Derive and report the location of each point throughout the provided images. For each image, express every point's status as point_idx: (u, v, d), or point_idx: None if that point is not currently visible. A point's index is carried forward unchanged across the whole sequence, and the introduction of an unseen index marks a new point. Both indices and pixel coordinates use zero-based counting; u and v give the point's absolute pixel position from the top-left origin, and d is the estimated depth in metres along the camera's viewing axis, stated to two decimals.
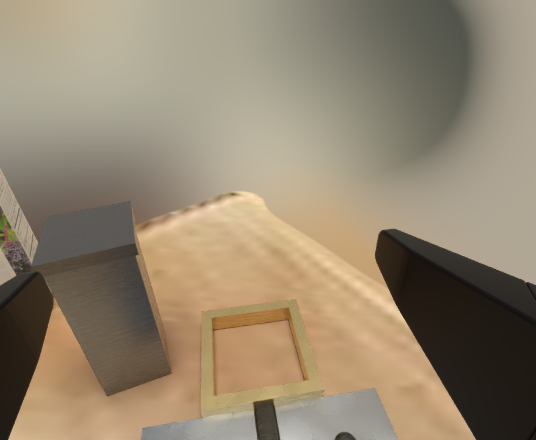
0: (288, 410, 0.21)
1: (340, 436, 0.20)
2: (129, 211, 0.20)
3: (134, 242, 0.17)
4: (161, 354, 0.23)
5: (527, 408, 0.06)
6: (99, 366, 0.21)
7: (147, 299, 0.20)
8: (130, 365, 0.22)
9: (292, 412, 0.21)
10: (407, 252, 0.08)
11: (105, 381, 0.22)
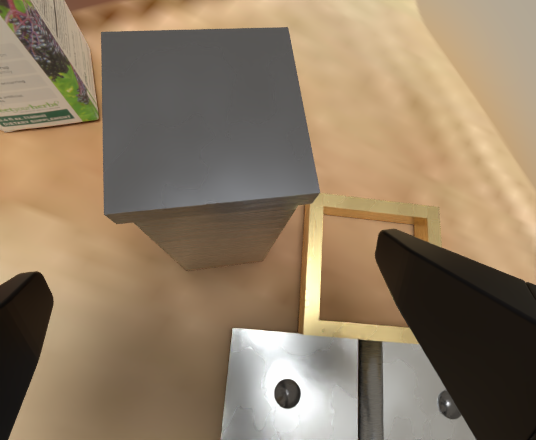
0: (396, 350, 0.18)
1: (447, 394, 0.18)
2: (290, 67, 0.09)
3: (317, 189, 0.08)
4: (262, 255, 0.17)
5: (527, 408, 0.06)
6: (186, 261, 0.16)
7: (280, 230, 0.12)
8: (223, 260, 0.17)
9: (400, 354, 0.18)
10: (407, 252, 0.08)
11: (189, 266, 0.17)
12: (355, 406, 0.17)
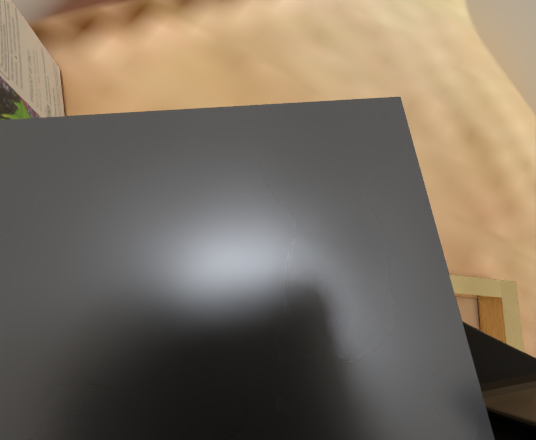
0: None
1: None
2: (415, 196, 0.04)
3: None
4: None
5: None
6: None
7: None
8: None
9: None
10: None
11: None
12: None
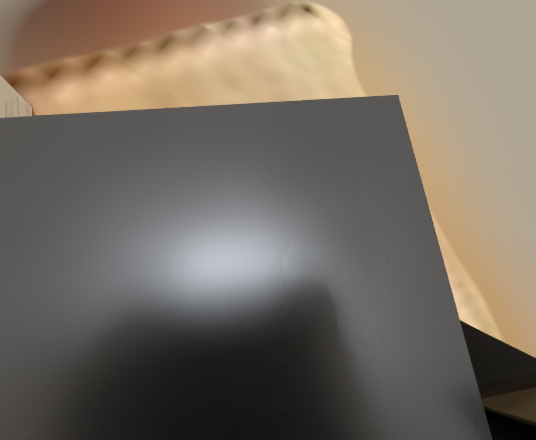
0: None
1: None
2: (412, 194, 0.04)
3: None
4: None
5: None
6: None
7: None
8: None
9: None
10: None
11: None
12: None
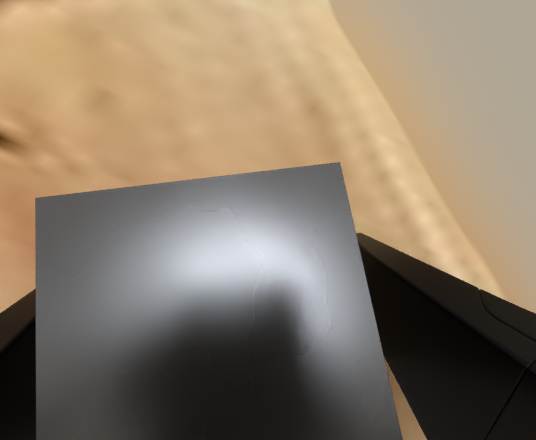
0: None
1: None
2: (348, 237, 0.05)
3: None
4: None
5: (477, 419, 0.06)
6: None
7: None
8: None
9: None
10: (368, 257, 0.08)
11: None
12: None
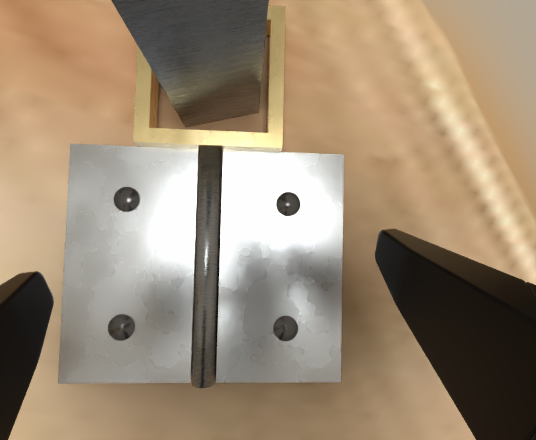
0: (237, 158, 0.19)
1: (285, 195, 0.19)
2: None
3: None
4: (255, 95, 0.17)
5: (527, 408, 0.06)
6: (181, 103, 0.16)
7: (264, 30, 0.12)
8: (217, 103, 0.17)
9: (241, 161, 0.19)
10: (407, 252, 0.08)
11: (185, 116, 0.17)
12: (194, 208, 0.18)
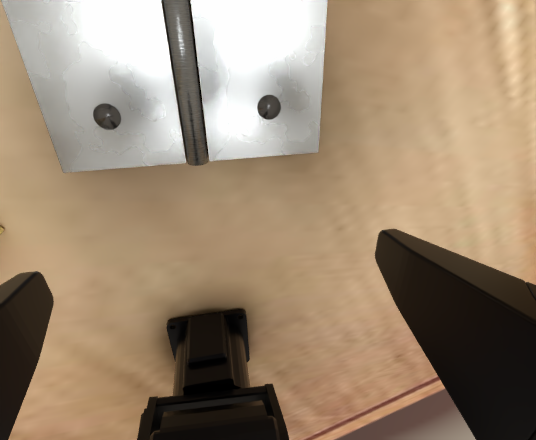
0: None
1: None
2: None
3: None
4: None
5: (528, 408, 0.06)
6: None
7: None
8: None
9: None
10: (407, 252, 0.08)
11: None
12: None
